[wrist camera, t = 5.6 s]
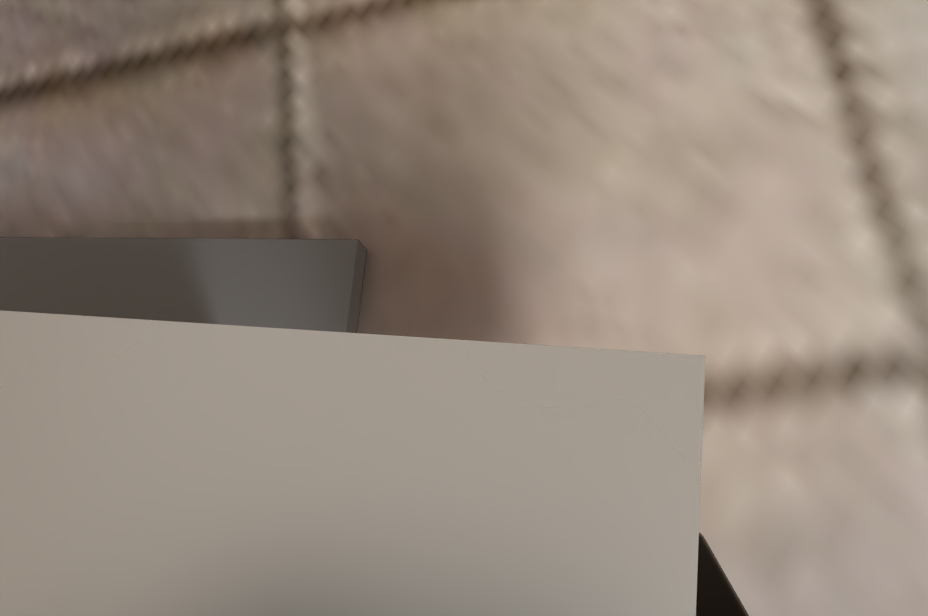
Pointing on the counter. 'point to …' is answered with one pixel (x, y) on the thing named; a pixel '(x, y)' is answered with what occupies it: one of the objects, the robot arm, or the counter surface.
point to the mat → (188, 280)
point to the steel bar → (341, 473)
